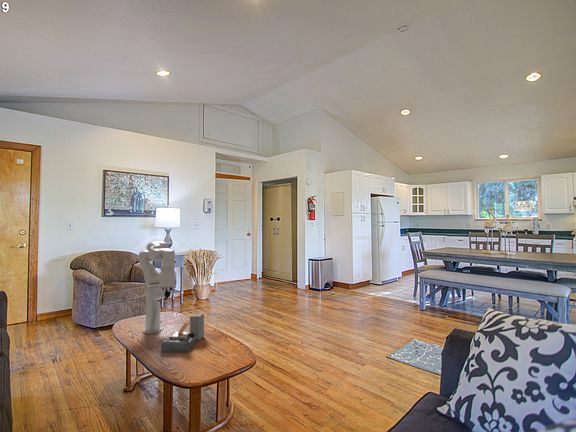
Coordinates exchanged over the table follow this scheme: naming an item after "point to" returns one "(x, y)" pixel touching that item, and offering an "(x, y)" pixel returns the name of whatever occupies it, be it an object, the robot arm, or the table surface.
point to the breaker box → (179, 342)
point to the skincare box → (197, 325)
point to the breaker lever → (183, 328)
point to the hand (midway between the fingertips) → (167, 297)
